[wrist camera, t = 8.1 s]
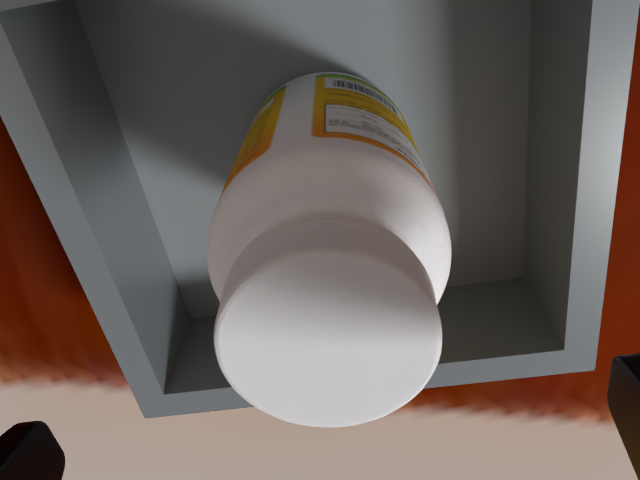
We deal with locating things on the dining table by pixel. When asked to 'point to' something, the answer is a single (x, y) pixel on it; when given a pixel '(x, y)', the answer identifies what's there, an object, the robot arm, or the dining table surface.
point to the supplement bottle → (328, 257)
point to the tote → (233, 123)
